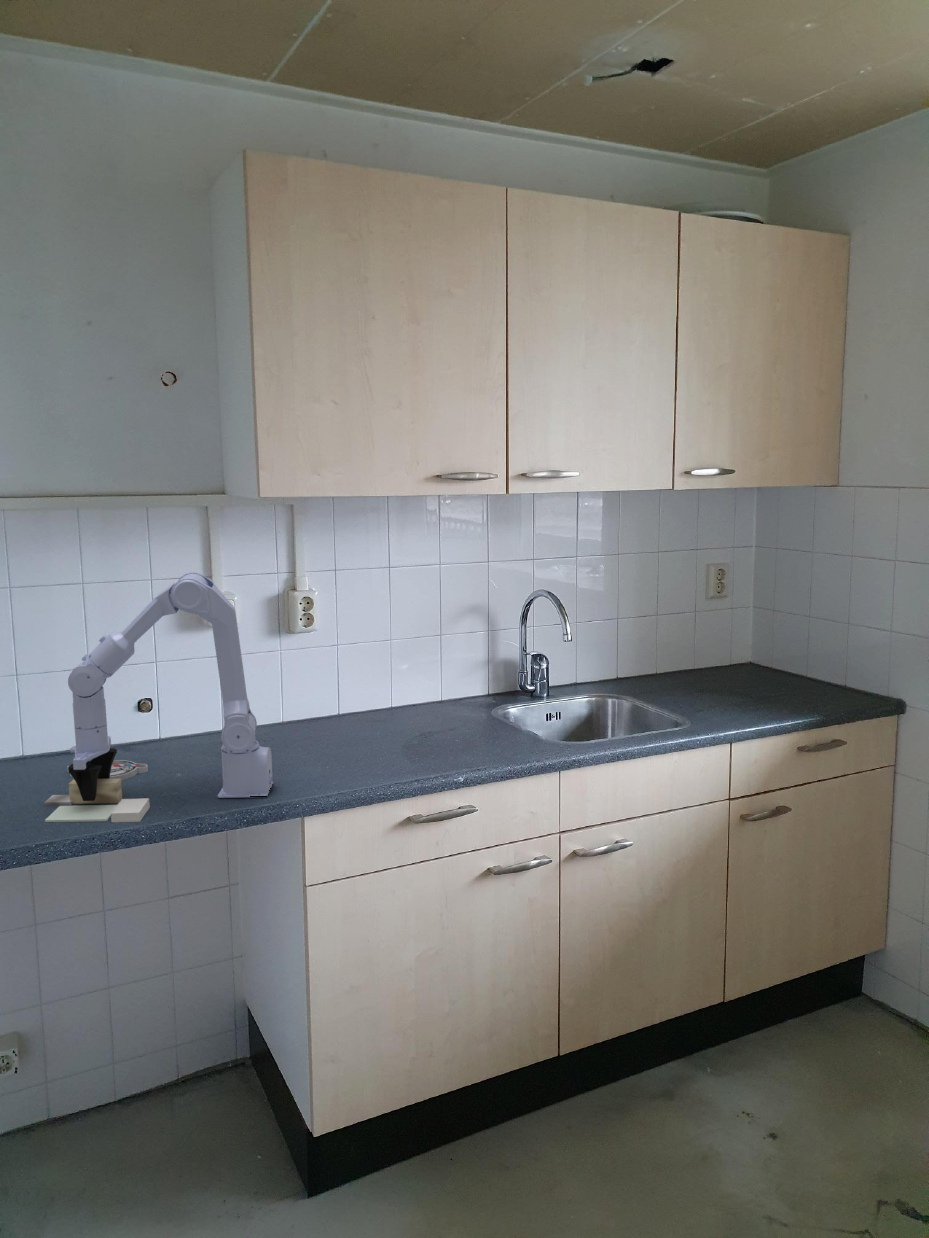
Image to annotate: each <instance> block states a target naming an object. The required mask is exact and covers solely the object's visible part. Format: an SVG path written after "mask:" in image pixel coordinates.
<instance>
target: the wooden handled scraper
mask: <svg viewBox="0 0 929 1238" xmlns="http://www.w3.org/2000/svg"><path fill="white" fill-rule="evenodd" d="M122 791H123V789H122V781H121V779H97V791H96V798H95V800H94V801H83V799H82V797H81V794H80V791H79V788H78V786H77V783H76V781H75V780H74V779H72V780H71V781H70V782H68V794H52V795H51V796H49V798H48V799H46V800H45V801H44V802H43V803H44V806H73V804H77V805H78V804H119V802H120V801H121V800H122V799H123V792H122Z"/></svg>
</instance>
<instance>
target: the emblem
mask: <svg viewBox="0 0 929 1238" xmlns="http://www.w3.org/2000/svg"><path fill="white" fill-rule="evenodd" d="M69 766H70V765H67V766H66V772H67V773H69V771H68V767H69ZM148 772H149V767H148V764H146V763H137V762H134V761H131V760H125V759H121V760H120V759H117V760H116V759H115V760H113V763H112V767H111V772H110V778H109V779H121V782H122V781H125V780H128V779H132V778H133V777H134V776H136V775H137V774H143V773H148ZM69 777H71V778H73V777H72V775H71V774H70V773H69ZM73 779H74V778H73ZM73 779H72V780H73Z"/></svg>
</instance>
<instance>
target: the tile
mask: <svg viewBox="0 0 929 1238" xmlns="http://www.w3.org/2000/svg"><path fill="white" fill-rule="evenodd" d="M116 805H117V806H116V808H115V809H114V810H113V811H112V813H111V817H110V819H111V823H136V822H137V823H140V822H141V821H142V819H144V816H145V815H146V813H148V811H149V810H150V807H151V805H150V798H146V797H145V798H122V799H121V800H120V801H119V802H118V803H117V804H116Z"/></svg>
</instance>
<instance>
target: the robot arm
mask: <svg viewBox="0 0 929 1238" xmlns="http://www.w3.org/2000/svg"><path fill="white" fill-rule="evenodd" d="M179 610H180V611H183V612H185V613H188V614H194V615H196V616H199V617H200V618H202V619H204V620H205V621H207V622H209V623H210V624H211V627H212V628H211V629H212V633H213V641H214V649H215V655H216V661H217V662H216V664H217V669H218V675H219V676H218V677H219V685H220V691H221V692H220V693H221V698H222V707H223V708H222V709H223V723H224V724H223V728H222V730H221V737H220V738H221V742H222V744H221V746H220V749H221V751H220V752H221V753H220V754H221V768H222V787H221V789H220V791H219V793H218V794H217V798H222V799H225V798H226V799H229V798H251V797H250V796H267V797H268V795H269V793H270V791H271V789H270V788H272V787H273V785H272V784H274V781H273V779H274V778H273V760H272V759H273V758H272V755H273V754H272V749H271V747H270V746H269V747H268V746H266V747H265V746H261V745H260V742H259V741H258V740H257V739H256V731H257V730H256V729H257V725H258V723H257V719H256V716H255V715H254V713H253V712H252V710H251V707H250V701H249V699H248V695H247V685H246V680H245V672H244V671H245V670H244V665H243V657H242V650H241V642H240V633H239V627H238V619H237V613H236V612H237V611H236V608H235V606H234V605H233V604H232V603H231V601H230V600H228V598H227V597H226V596H225V595H224V594H223V592H222V591H221V590H220V589H219V587H218V586H217V585H216V584H215V582H214V581H213V580H212V579H210V578H208V577H207V576H204V575H203V574H200V573H198V572H187V573H185V574H183V575H182V576H180V577H179V578H178V580H177V581H176V582H173V583H172V584H170V585H169V586H168V587H166V588H164V590H162V591H161V592H160V593H158V594H157V595H155V597H154V598H153V599H152V600H151V601H150V602H149V603H148V604H147V605H146V606H145V607H144V609H142V611H140V613H139V614H138V615H136V617H135V618H134V619H133V620H132V621H131V622H130V623H129V624H128V625H127V626H126V627H125V628H124V630H122V631H120V632H119V631H118V632H116V631H115V632H114V631H113V632H110V633H109V634H108V635H106V634H103V636H101V638H100V639H99V640H98V641H99V644H97V646H95V648H94V649H93V650H92V651H91V652H90V653H89V654H84V655H83V656H82V657H81V661H82V662H80V663H79V664H78V665H77V666H75V667H73V669H72V671H70V674H69V676H68V678H67V684H68V688H69V690H70V691H71V693H72V713H73V724H74V725H73V726H74V735H75V736H74V738H75V746H74V745H73V746H71V747H70V749H69V752H70V753H72V754H73V753H74V758H73V759H72V763H71V764H70V765H68V766H69V767H68V771H69V772H68V774H69V775H70V774H71V775H72V777H71V778H74V780H75V781H76V783H77V786H78V788H79V791H80V794H81V797H82V799H83V801H94V800H95V798H96V791H97V779H109V778H110V772H111V767H112V763H113V761H114V759H115V757H116V755H117V753H118V750H117V748H111V747H112V742H111V741H112V737H111V736H110V735H109V736H108V734H109V733H108V723H107V722H108V721H107V707H106V699H105V688H104V685H105V683H106V682H107V679H108V678H111V677H112V676H113V675H114V674H115V673H116V672H118V670H120V668H121V667H122V666H123V665H124V664H126V663H127V662H128V661H129V659H130V658H131V657H133V655H134V654H135V644H136V642H137V641H138V640H139V639H141V637H143V636H144V635H145V634H146V633H147V632H148V631H149V630H150V629H151V628H152V627H153V626H154V625H155V624H156V623H157V622H158V621H160V620H161V618H163V617H164V616H169V615H174V614H177V613H178V612H179ZM269 790H270V791H269Z"/></svg>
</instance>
